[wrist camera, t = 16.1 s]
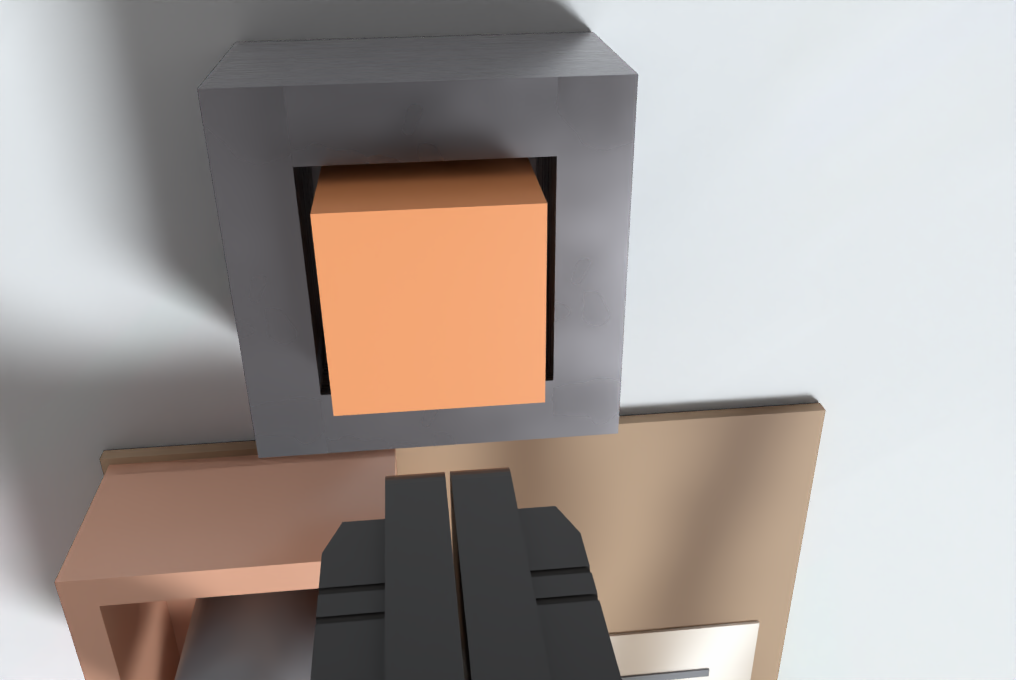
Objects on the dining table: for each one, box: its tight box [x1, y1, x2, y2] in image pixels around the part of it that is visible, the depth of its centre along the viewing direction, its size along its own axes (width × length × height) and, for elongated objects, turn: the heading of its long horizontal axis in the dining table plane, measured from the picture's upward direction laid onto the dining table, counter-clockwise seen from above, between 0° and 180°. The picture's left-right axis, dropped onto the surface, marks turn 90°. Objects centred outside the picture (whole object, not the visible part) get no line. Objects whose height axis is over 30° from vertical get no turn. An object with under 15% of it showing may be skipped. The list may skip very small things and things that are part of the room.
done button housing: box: [197, 32, 638, 458], centre depth 21 cm, size 8×8×4 cm
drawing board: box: [100, 403, 825, 680], centre depth 30 cm, size 20×19×1 cm
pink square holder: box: [54, 449, 398, 680], centre depth 25 cm, size 8×8×4 cm
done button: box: [310, 157, 547, 416], centre depth 19 cm, size 4×4×3 cm
